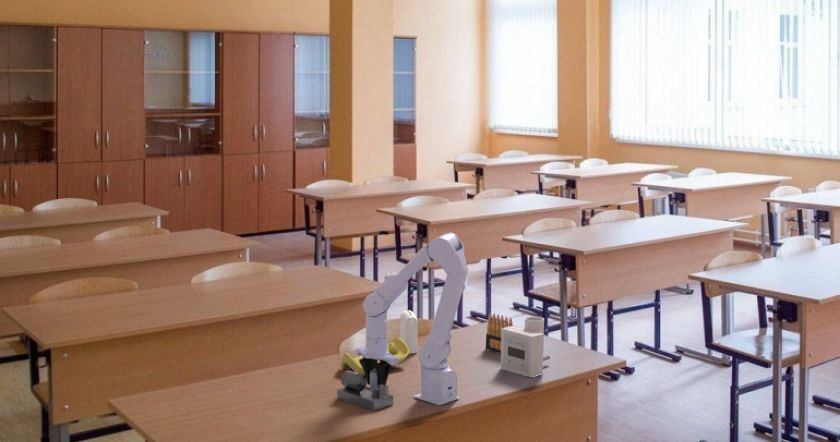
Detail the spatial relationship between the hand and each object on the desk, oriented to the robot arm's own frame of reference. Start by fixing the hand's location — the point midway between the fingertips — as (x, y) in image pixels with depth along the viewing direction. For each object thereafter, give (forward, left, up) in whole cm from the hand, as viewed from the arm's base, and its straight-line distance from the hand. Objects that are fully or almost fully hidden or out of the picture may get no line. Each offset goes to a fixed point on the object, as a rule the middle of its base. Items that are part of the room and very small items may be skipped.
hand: (376, 385), depth 269 cm
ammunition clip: (+1, -54, -2) cm, 54 cm away
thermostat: (-17, -47, -2) cm, 50 cm away
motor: (-4, +8, -2) cm, 9 cm away
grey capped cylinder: (0, 0, -2) cm, 2 cm away
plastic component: (+16, -15, -2) cm, 22 cm away
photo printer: (+23, -36, -2) cm, 43 cm away
